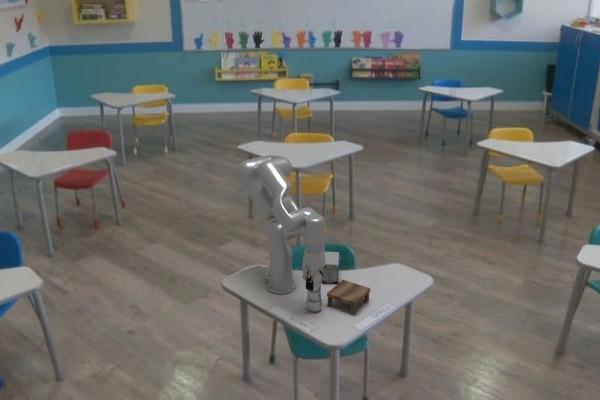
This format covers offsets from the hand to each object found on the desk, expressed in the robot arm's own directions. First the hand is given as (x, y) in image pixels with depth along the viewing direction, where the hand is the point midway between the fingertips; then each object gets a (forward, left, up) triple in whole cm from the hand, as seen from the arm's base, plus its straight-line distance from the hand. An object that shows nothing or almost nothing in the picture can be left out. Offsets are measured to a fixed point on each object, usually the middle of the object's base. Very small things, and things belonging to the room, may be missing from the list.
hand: (314, 285), depth 226 cm
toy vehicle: (-9, +28, -12) cm, 31 cm away
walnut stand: (+9, +12, -11) cm, 19 cm away
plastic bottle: (0, 0, -11) cm, 11 cm away
